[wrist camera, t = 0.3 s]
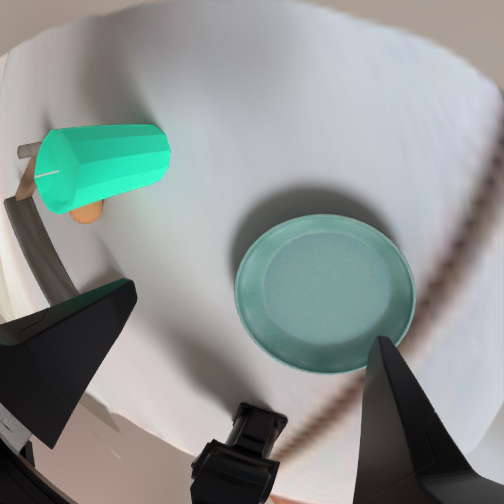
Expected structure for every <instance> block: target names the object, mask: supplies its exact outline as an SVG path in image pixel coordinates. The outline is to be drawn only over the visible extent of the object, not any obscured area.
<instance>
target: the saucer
mask: <svg viewBox="0 0 504 504" xmlns="http://www.w3.org/2000/svg"><path fill="white" fill-rule="evenodd" d="M234 290H235V303H236V308H237V311H238V315H239V317H240V320H241V322H242V324H243V326H244V328H245V330H246V331H247V333H248V334H249V336H250V337H251V338H252V340H253V341H254V342H255V343H256V344H257V345H258V346H259V347H260V348H261V349H262V350H263V351H264V352H265V353H267V354H268V355H269V356H270V357H272V358H273V359H275V360H276V361H278V362H280V363H282V364H284V365H286V366H289V367H291V368H293V369H296V370H300V371H303V372H307V373H313V374H321V375H335V374H345V373H350V372H354V371H358V370H360V369H364V368H366V367H367V359H368V353H369V351H370V348H371V346H372V344H373V342H374V340H375V338H376V337H377V336H378V335H383V336H388V337H389V338H390V339H391V340H392V342H393V343H394V345H395V346H397V345H398V344H399V343H400V342H401V340H402V339H403V337H404V336H405V334H406V333H407V331H408V329H409V327H410V324H411V322H412V318H413V315H414V311H415V303H416V290H415V282H414V278H413V275H412V272H411V269H410V267H409V265H408V263H407V261H406V259H405V257H404V256H403V254H402V253H401V251H400V250H399V249H398V247H397V246H396V245H395V244H394V243H393V242H392V241H391V240H390V239H389V238H388V237H386V236H385V235H384V234H383V233H382V232H380V231H379V230H377V229H376V228H374V227H372V226H371V225H369V224H367V223H364V222H362V221H360V220H357V219H354V218H350V217H347V216H342V215H336V214H311V215H304V216H300V217H296V218H292V219H290V220H287V221H284V222H282V223H280V224H277V225H276V226H274V227H272V228H271V229H269V230H268V231H266V232H265V233H264V234H262V235H261V236H260V237H259V238H258V239H257V240H256V241H255V242H254V243H253V244H252V245H251V246H250V248H249V249H248V250H247V252H246V253H245V255H244V257H243V258H242V261H241V262H240V265H239V268H238V271H237V274H236V279H235V289H234Z"/></svg>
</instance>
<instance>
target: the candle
mask: <svg viewBox="0 0 504 504" xmlns="http://www.w3.org/2000/svg"><path fill="white" fill-rule="evenodd" d="M170 151H171V150H170V147H169V144H168V141H167V138H166V135H165V134H164V133H163V132H162V131H161V130H160V129H159V128H158V127H157V126H156V125H148V124H120V125H98V126H84V127H73V128H63V129H54V130H50V132H49V133H48V134H47V136H46V137H45V138H44V140H43V142H42V144H41V147H40V150H39V152H38V155H37V158H36V165H35V173H34V180H35V183H36V186H37V189H38V191H39V194H40V197H41V198H42V200H43V202H44V203H45V205H46V207H47V208H48V210H49V211H52V212H55V213H57V214H63V213H66V212H68V211H71V210H74V209H77V208H79V207H82V206H85V205H88V204H91V203H94V202H97V201H100V200H103V199H106V198H109V197H112V196H115V195H118V194H121V193H125V192H128V191H131V190H134V189H138V188H141V187H145V186H148V185H150V184H153V183H155V182H157V181H159V180H161V178H162V177H163V175H164V173H165V172H166V170H167V169H168V167H169V159H170Z"/></svg>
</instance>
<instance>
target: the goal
mask: <svg viewBox="0 0 504 504" xmlns="http://www.w3.org/2000/svg"><path fill="white" fill-rule="evenodd" d="M41 144H42V142H38V143H32V144H27V145H22V146H19V147H18V151H17V154H18V158H19V159H23V158H27V157H32V158H31V160H30V162H29V165H28V167H27V169H26V171H25V173H24V175H23V178H22V180H21V182H20V184H19V187H18V189H17V192H16V194H15V196H13V197H10V198H7V199H5V200H4V206H5V209H6V211H7V214H8V217H9V220H10V222H11V225H12V228H13V230H14V233H15V235H16V237H17V240H18V242H19V245H20V247H21V249H22V251H23V254H24V256H25V258H26V260H27V262H28V264H29V267H30V269H31V271H32V273H33V275H34V277H35V279H36V281H37V282H38V284H39V286H40V288H41V290H42V292H43V294H44V295H45V297H46V299H47V301H48V303H49V304H50V306H54V305H56V304H59V303H61V302H64V301H66V300H69V299H71V298H74V297H76V296H79V293H78V292H77V290H76V288H75V287H74V285H73V283H72V281H71V279H70V278H69V276H68V274H67V272H66V270H65V269H64V267H63V265H62V263H61V261H60V259H59V257H58V255H57V253H56V251H55V249H54V247H53V245H52V243H51V241H50V239H49V237H48V234H47V232H46V230H45V228H44V225H43V223H42V221H41V219H40V216H39V214H38V211H37V209H36V207H35V204H34V202H33V199H32V194H33V192H34V190H35V188H36V183H35V180H34V173H35V165H36V158H37V155H38V152H39V150H40V147H41Z"/></svg>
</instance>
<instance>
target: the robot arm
mask: <svg viewBox="0 0 504 504" xmlns="http://www.w3.org/2000/svg"><path fill="white" fill-rule="evenodd" d="M136 302H137V293H136V289H135V284H134V282H133V281H132V280H130V279H127V278H122V279H120V280H117V281H114V282H112V283H109V284H107V285H104V286H102V287H99V288H96V289H94V290H91V291H89V292H86V293H84V294H81V295H79V296H76V297H74V298H71V299H69V300H66V301H64V302H61V303H59V304H56V305H54V306H51V307H50V308H46V309H44V310H41V311H39V312H36V313H33V314H31V315H28V316H25V317H22V318H19V319H16V320H13V321H10V322H7V323H4V324H0V504H78V503H77V502H75V501H74V500H72V499H71V498H70V497H68V496H67V495H66V494H65V493H63V492H62V491H61V490H60V489H58V488H57V487H56V486H55V485H53V484H52V483H51V482H50V481H49V480H48V479H46V478H45V477H44V476H43V475H42V474H41V473H40V472H38V471H37V470H36V469H35V468H34V467H35V463H34V456H33V449H32V442H30V441H29V438H30V437H31V436H32V434H34V435H35V436H36V437H37V438H38V439H39V440H40V441H42V442H43V443H44V444H45V445H47V446H48V447H49V448H50V449H53V448H54V446H55V444H56V442H57V440H58V438H59V436H60V435H61V433H62V431H63V429H64V427H65V425H66V423H67V422H68V420H69V418H70V416H71V414H72V413H73V410H74V409H75V407H76V405H77V403H78V402H79V400H80V398H81V396H82V395H83V393H84V391H85V390H86V388H87V386H88V384H89V383H90V381H91V379H92V378H93V376H94V374H95V373H96V371H97V370H98V368H99V366H100V365H101V363H102V361H103V360H104V358H105V357H106V355H107V353H108V352H109V350H110V349H111V347H112V345H113V344H114V342H115V341H116V339H117V338H118V336H119V334H120V333H121V331H122V329H123V327H124V325H125V323H126V322H127V320H128V318H129V316H130V314H131V312H132V310H133V308H134V306H135V304H136ZM287 422H288V419H286V418H284V417H281V416H278V415H275V414H272V413H269V412H266V411H263V410H261V409H258V408H255V407H252V406H250V405H247V404H245V403H240V405H239V408H238V411H237V414H236V417H235V420H234V423H233V429H232V431H231V433H230V435H229V437H228V439H227V441H226V443H225V444H223V443H221V442H218V441H217V440H215V439H213V440H212V441H211V443H207V444H206V446H205V448H204V449H203V451H202V452H201V454H200V455H199V456H198V457H197V458H196V459H195V460H194V461H193V463H192V464H191V467H192V469H193V471H192V476H191V478H192V479H194V482H193V484H192V485H191V488H190V491H191V499H192V504H259V503H260V504H264V503H265V502H266V500H267V499H268V497H269V495H270V492H271V490H272V487H273V485H274V481H275V478H276V475H277V471H278V468H279V465H280V462H278V461H273V460H269V459H268V458H269V456H270V453H271V451H272V448H273V445H274V443H275V441H276V440H277V438H278V437H279V435H280V434H281V432H282V431H283V429H284V427H285V426H286V424H287ZM353 504H504V485H502V484H499V483H497V482H494V481H491V480H489V479H486V478H484V477H482V476H480V475H479V474H478V473H476V472H475V471H474V470H473V469H472V467H471V466H470V464H469V463H468V462H467V460H466V458H465V457H464V455H463V454H462V452H461V451H460V449H459V448H458V447H457V445H456V444H455V442H454V441H453V439H452V438H451V436H450V435H449V433H448V432H447V430H446V428H445V427H444V425H443V423H442V422H441V420H440V418H439V416H438V415H437V413H436V412H435V410H434V408H433V406H432V404H431V403H430V401H429V399H428V398H427V396H426V394H425V393H424V391H423V389H422V388H421V386H420V384H419V383H418V381H417V379H416V378H415V376H414V375H413V373H412V371H411V370H410V368H409V367H408V365H407V364H406V362H405V360H404V359H403V357H402V356H401V354H400V353H399V351H398V350H397V348H396V346H395V345H394V343H393V342H392V340H391V339H390V338H389V337H388V336H383V335H378V336H377V337H376V338H375V340H374V342H373V344H372V346H371V348H370V351H369V353H368V359H367V367H366V375H365V383H364V390H363V400H362V421H361V437H360V449H359V459H358V468H357V477H356V484H355V491H354V498H353Z"/></svg>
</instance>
